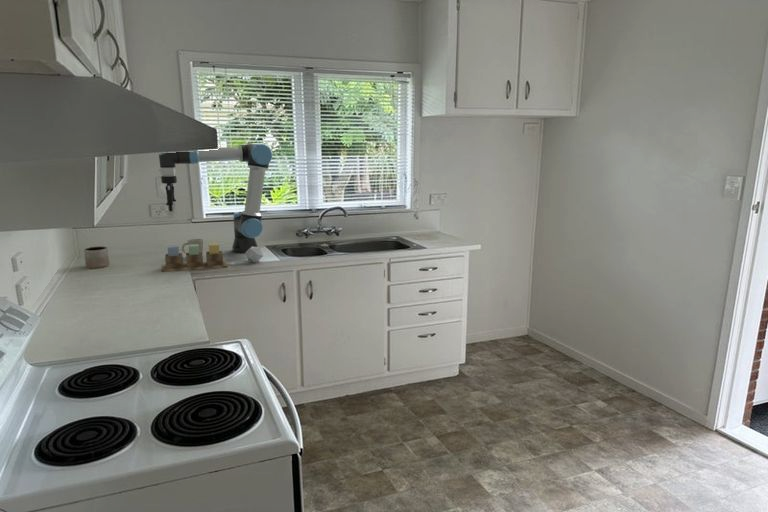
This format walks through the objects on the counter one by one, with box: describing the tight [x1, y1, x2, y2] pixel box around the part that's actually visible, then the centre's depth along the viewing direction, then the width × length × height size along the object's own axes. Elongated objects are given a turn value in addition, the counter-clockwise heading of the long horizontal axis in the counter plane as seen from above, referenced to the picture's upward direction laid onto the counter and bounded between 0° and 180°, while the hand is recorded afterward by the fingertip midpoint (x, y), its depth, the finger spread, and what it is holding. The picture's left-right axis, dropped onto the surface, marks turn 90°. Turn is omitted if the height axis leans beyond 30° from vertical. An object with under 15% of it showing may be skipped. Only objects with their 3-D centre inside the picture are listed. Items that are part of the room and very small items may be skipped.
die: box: [244, 246, 264, 263], centre depth 282 cm, size 8×9×10 cm
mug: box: [181, 238, 204, 255], centre depth 289 cm, size 8×13×10 cm, turn 89°
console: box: [161, 250, 228, 273], centre depth 269 cm, size 32×13×7 cm, turn 110°
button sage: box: [188, 244, 199, 255], centre depth 268 cm, size 5×5×7 cm
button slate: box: [167, 244, 180, 256], centre depth 264 cm, size 5×5×7 cm
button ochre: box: [208, 242, 220, 254], centre depth 271 cm, size 5×5×7 cm
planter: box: [83, 246, 110, 269], centre depth 267 cm, size 11×11×10 cm
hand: (172, 215), depth 274 cm, fingers open, 13 cm apart
